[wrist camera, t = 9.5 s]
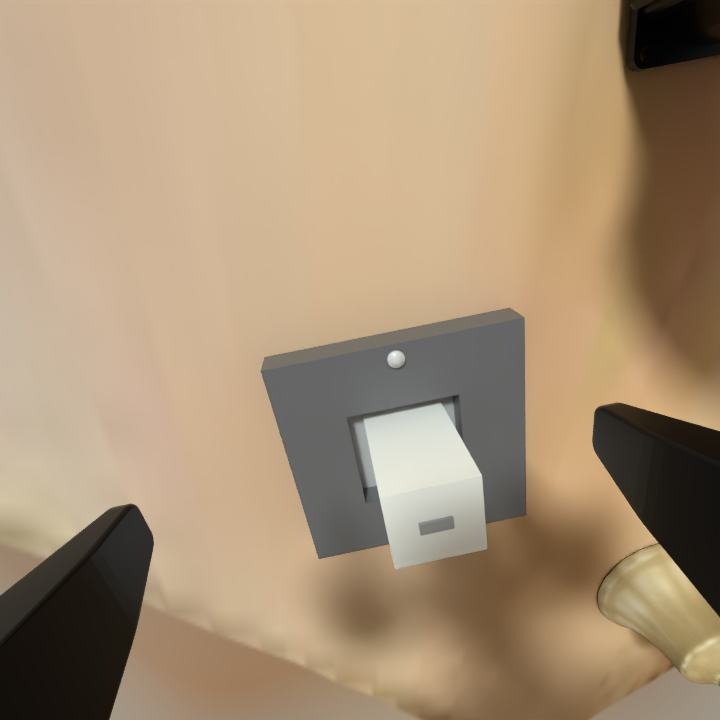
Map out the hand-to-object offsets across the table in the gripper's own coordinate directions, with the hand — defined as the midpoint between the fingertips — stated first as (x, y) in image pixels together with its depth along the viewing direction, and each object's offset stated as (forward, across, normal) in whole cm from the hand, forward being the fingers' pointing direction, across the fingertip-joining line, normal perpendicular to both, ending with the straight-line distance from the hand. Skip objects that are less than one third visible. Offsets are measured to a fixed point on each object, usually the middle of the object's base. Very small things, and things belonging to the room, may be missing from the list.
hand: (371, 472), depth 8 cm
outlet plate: (+12, -2, +8) cm, 15 cm away
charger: (+12, -2, +8) cm, 14 cm away
